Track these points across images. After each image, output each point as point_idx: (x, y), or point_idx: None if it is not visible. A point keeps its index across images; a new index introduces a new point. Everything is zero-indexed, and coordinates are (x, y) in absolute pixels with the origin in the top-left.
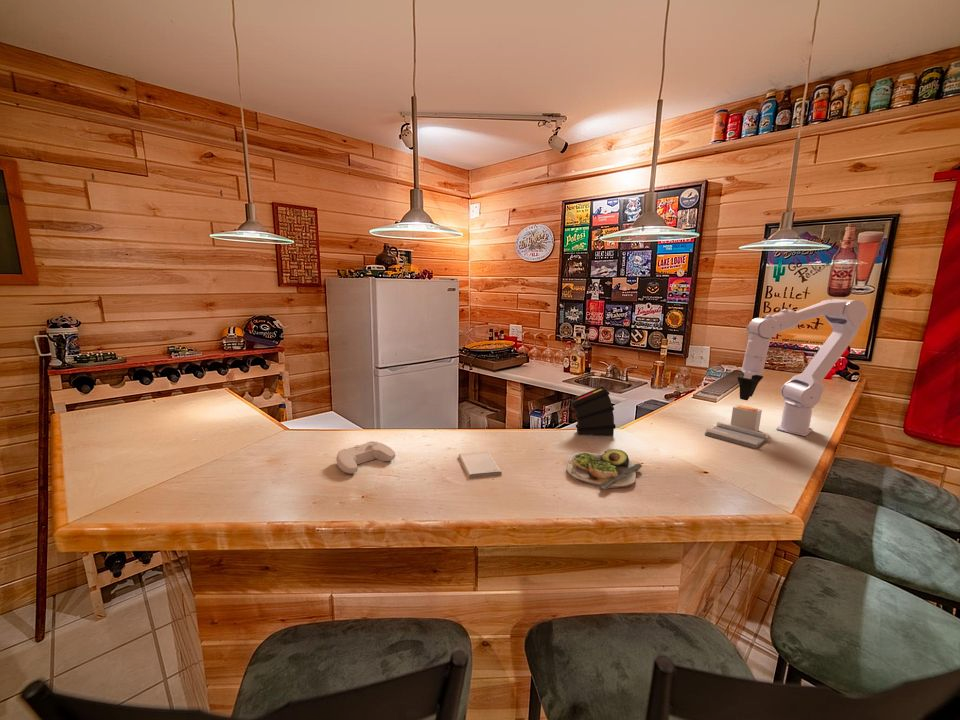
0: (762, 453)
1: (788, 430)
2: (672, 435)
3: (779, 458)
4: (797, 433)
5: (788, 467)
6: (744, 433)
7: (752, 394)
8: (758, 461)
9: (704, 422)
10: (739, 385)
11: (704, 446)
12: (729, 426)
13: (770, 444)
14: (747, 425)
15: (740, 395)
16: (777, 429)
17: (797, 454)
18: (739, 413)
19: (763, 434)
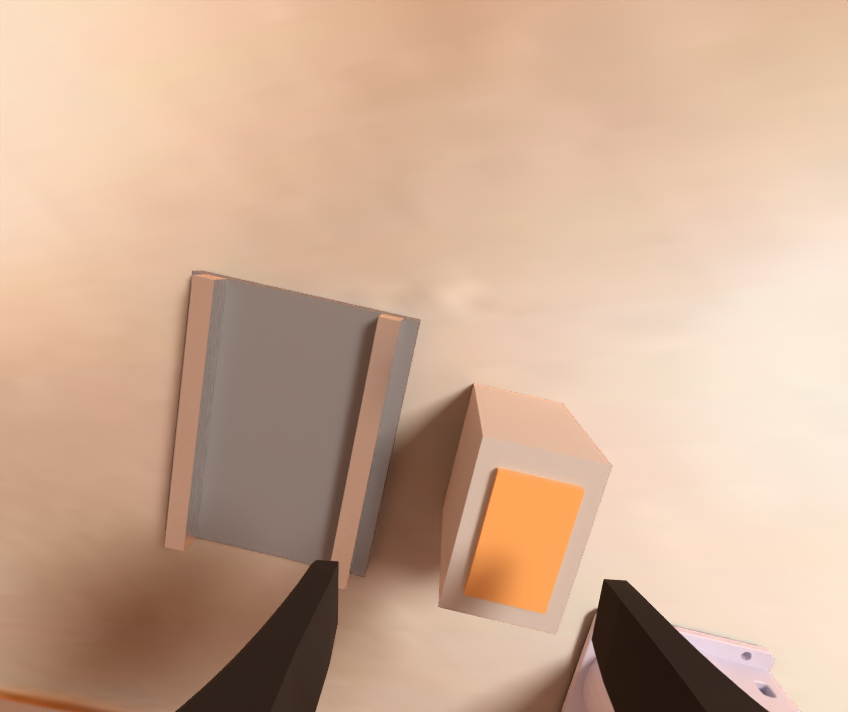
0: (137, 549)
1: (590, 666)
2: (39, 97)
3: (129, 609)
4: (568, 699)
5: (48, 634)
6: (346, 471)
7: (601, 674)
8: (18, 536)
9: (471, 223)
10: (189, 699)
11: (9, 302)
12: (363, 395)
13: None
14: (452, 490)
15: (293, 591)
16: (595, 615)
17: None
18: (466, 470)
19: None
